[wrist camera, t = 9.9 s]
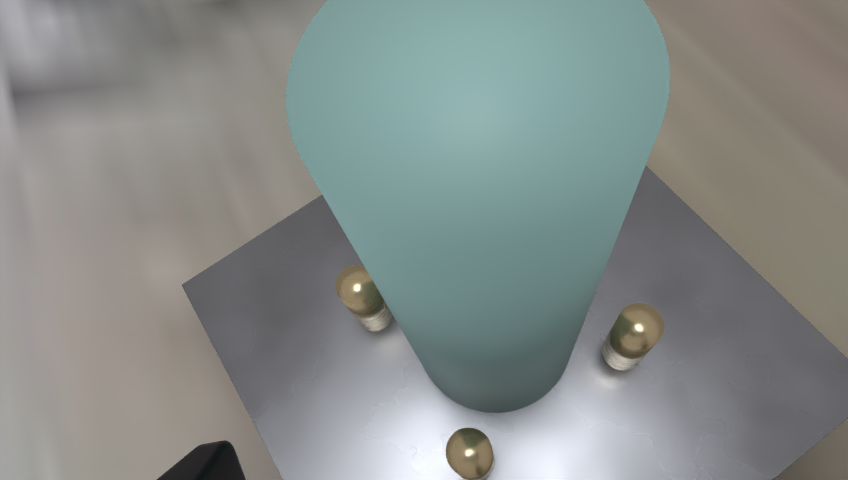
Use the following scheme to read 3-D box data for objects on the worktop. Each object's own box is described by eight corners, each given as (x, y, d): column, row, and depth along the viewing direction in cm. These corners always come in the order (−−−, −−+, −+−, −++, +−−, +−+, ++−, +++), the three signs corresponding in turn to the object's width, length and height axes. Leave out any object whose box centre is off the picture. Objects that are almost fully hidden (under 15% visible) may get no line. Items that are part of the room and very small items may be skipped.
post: (605, 350, 19) (760, 88, 7) (476, 446, 18) (419, 327, 7) (507, 235, 21) (506, -115, 9) (388, 318, 20) (225, 52, 9)
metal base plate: (859, 397, 19) (949, 367, 15) (435, 744, 16) (413, 813, 13) (533, 78, 25) (537, 0, 21) (197, 295, 23) (135, 252, 19)
